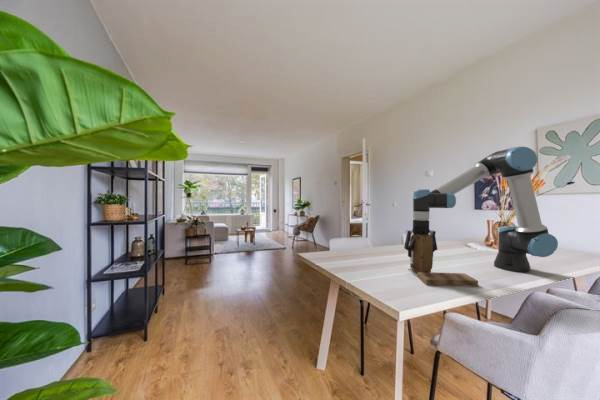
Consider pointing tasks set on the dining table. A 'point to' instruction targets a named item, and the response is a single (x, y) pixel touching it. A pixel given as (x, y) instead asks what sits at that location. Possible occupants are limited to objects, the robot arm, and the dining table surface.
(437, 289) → the dining table surface
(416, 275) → the end pad
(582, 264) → the dining table surface
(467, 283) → the board
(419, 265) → the block
